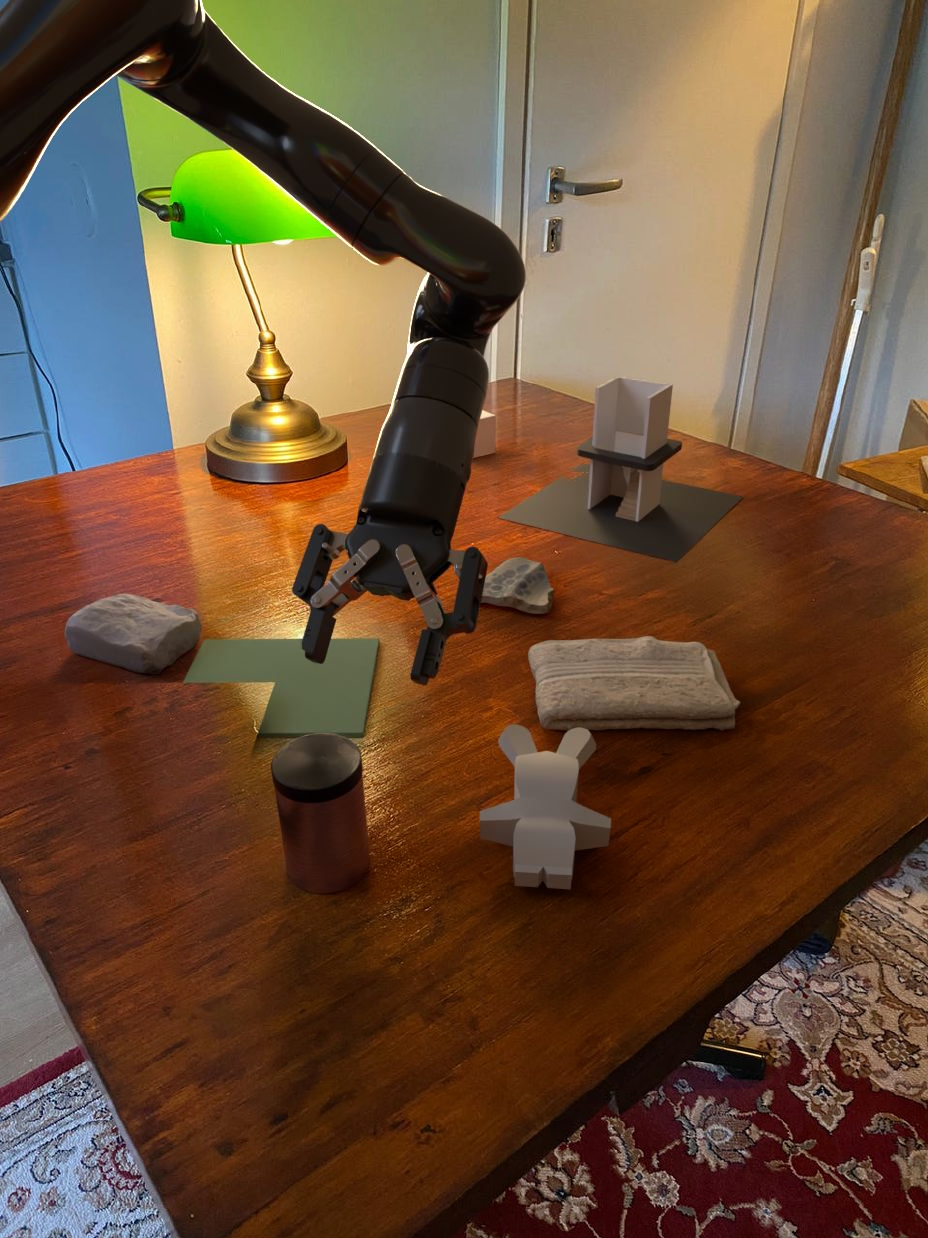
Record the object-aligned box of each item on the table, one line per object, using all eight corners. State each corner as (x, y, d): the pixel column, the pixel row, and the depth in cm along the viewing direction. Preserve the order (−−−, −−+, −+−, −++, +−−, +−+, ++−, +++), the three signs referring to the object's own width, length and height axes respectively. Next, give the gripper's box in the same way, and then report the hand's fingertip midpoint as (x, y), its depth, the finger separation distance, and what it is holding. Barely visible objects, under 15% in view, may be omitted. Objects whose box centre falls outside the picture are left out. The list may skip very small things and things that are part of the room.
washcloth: (743, 733, 79) (748, 704, 77) (538, 738, 79) (539, 708, 77) (708, 660, 89) (712, 633, 88) (526, 664, 89) (527, 637, 88)
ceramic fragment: (543, 613, 94) (460, 580, 98) (538, 637, 96) (457, 604, 100) (584, 571, 102) (506, 542, 106) (579, 594, 104) (503, 565, 108)
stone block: (130, 626, 100) (57, 654, 91) (129, 585, 98) (55, 609, 89) (217, 653, 95) (149, 685, 87) (218, 611, 94) (148, 639, 85)
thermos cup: (279, 895, 64) (262, 789, 59) (293, 833, 69) (279, 732, 64) (366, 894, 63) (356, 789, 59) (374, 833, 69) (365, 732, 64)
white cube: (464, 460, 140) (463, 422, 137) (442, 449, 144) (441, 412, 141) (495, 452, 143) (495, 415, 140) (473, 442, 147) (473, 405, 144)
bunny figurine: (473, 853, 61) (489, 704, 73) (474, 900, 64) (489, 750, 76) (615, 862, 60) (608, 710, 72) (609, 909, 63) (603, 756, 75)
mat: (158, 738, 79) (157, 733, 79) (204, 643, 93) (204, 639, 93) (363, 737, 79) (363, 732, 79) (379, 642, 93) (379, 637, 93)
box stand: (497, 517, 120) (498, 395, 112) (581, 463, 138) (588, 354, 130) (676, 562, 108) (691, 428, 100) (743, 496, 126) (761, 378, 118)
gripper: (318, 439, 69) (257, 642, 65) (496, 460, 65) (440, 678, 61) (354, 481, 76) (301, 666, 72) (517, 502, 72) (468, 700, 68)
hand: (365, 671), depth 67 cm, fingers open, 8 cm apart
